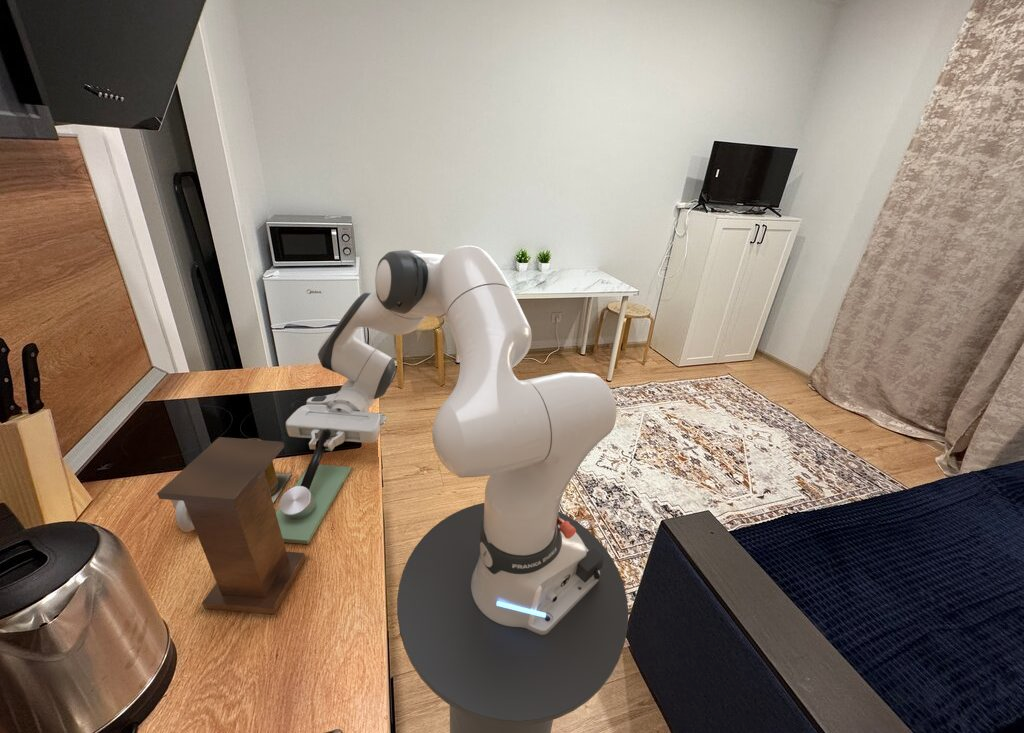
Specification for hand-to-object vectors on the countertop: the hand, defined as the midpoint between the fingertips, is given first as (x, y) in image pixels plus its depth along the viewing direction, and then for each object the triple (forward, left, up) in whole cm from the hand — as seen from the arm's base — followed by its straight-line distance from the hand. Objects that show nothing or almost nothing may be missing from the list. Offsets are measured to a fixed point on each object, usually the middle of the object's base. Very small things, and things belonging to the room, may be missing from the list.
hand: (319, 447), depth 87 cm
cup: (+22, +2, -8) cm, 24 cm away
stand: (+14, +20, -8) cm, 26 cm away
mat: (+4, +6, -8) cm, 11 cm away
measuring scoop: (+2, +3, -3) cm, 5 cm away
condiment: (+11, -2, -8) cm, 14 cm away
